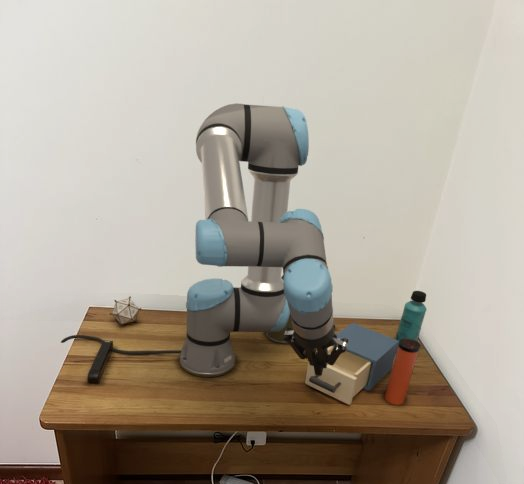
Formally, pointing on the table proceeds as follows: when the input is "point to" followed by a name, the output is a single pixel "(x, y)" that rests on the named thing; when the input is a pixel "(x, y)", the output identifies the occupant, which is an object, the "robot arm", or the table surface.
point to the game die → (125, 311)
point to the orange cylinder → (402, 370)
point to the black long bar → (100, 362)
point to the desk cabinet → (371, 350)
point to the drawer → (341, 376)
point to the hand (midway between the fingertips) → (319, 369)
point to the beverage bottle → (412, 317)
